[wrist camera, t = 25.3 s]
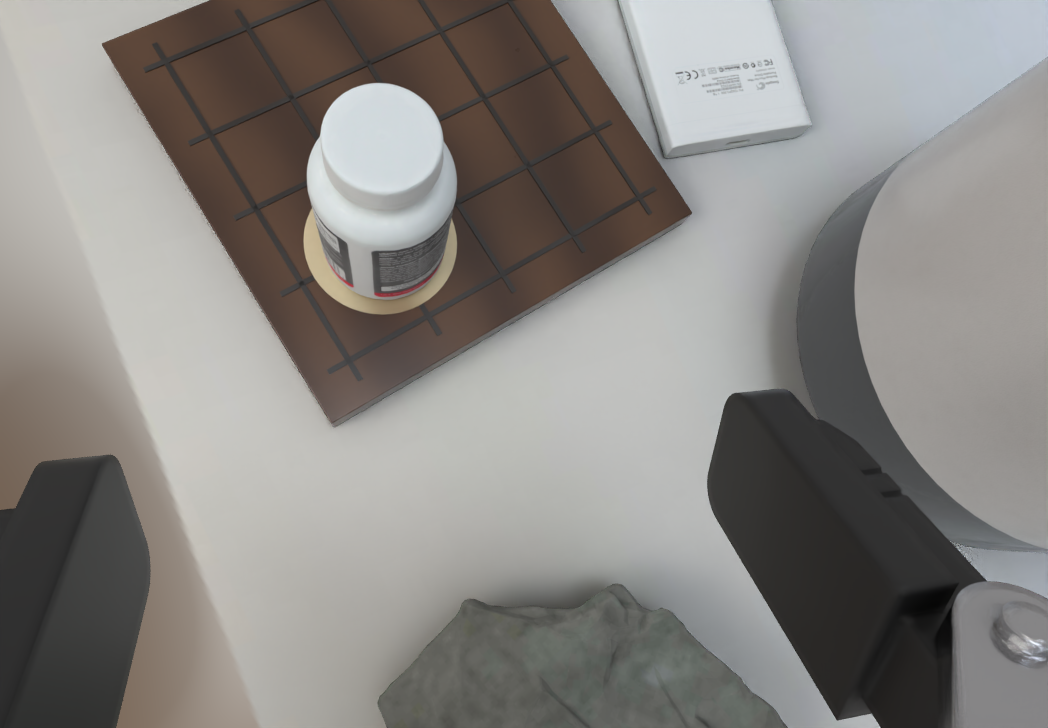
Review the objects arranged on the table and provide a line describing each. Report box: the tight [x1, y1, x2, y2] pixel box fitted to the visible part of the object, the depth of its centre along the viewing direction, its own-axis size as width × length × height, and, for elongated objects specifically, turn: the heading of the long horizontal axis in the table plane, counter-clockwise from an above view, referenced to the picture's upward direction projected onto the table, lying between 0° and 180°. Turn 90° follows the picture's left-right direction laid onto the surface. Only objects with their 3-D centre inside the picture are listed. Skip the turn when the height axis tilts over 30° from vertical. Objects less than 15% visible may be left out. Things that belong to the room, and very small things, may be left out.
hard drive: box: [618, 0, 812, 158], centre depth 40 cm, size 2×8×12 cm
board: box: [102, 0, 692, 427], centre depth 35 cm, size 20×20×2 cm
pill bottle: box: [307, 83, 457, 300], centre depth 29 cm, size 5×5×10 cm
